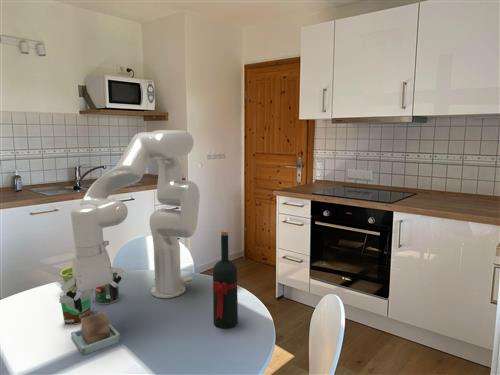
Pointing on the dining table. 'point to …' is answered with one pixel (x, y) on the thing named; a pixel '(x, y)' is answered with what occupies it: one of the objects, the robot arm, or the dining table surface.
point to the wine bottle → (225, 289)
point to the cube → (95, 328)
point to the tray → (86, 349)
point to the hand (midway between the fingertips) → (96, 304)
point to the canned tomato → (105, 293)
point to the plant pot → (67, 276)
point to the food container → (69, 310)
